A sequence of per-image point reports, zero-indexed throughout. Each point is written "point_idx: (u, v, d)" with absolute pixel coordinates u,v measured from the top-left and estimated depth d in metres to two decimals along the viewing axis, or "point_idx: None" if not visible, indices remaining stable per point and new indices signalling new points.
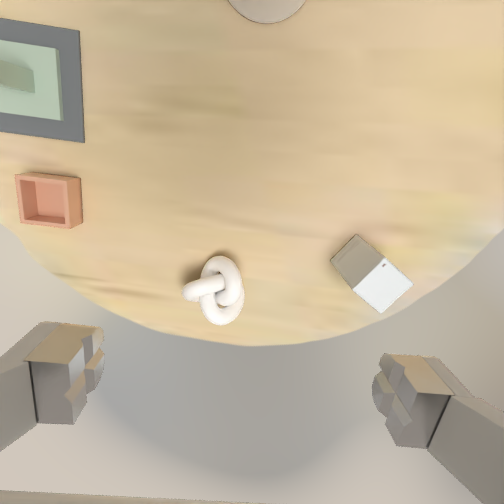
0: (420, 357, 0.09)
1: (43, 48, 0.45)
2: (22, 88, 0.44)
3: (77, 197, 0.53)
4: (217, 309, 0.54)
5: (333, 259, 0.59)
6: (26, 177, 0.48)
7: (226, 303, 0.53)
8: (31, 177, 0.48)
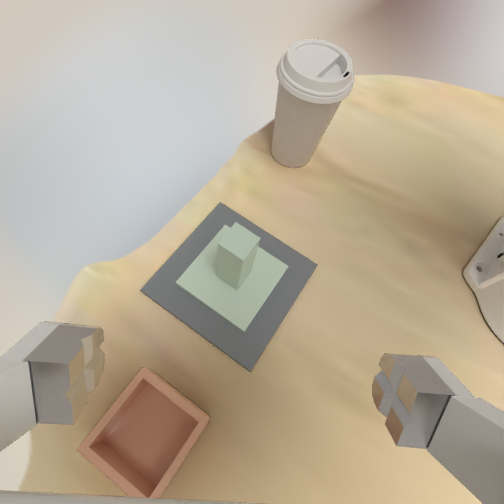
0: (420, 357, 0.09)
1: (276, 260, 0.39)
2: (239, 281, 0.34)
3: None
4: None
5: None
6: (155, 380, 0.29)
7: None
8: (162, 384, 0.29)
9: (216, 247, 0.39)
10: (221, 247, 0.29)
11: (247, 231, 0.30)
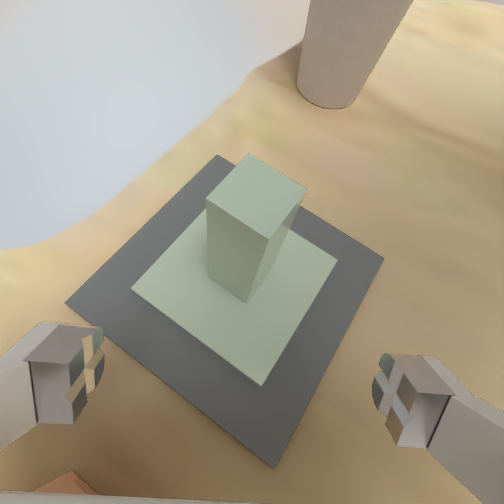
0: (420, 357, 0.09)
1: (315, 249, 0.22)
2: (253, 287, 0.17)
3: None
4: None
5: None
6: None
7: None
8: None
9: None
10: (215, 208, 0.12)
11: (275, 174, 0.13)
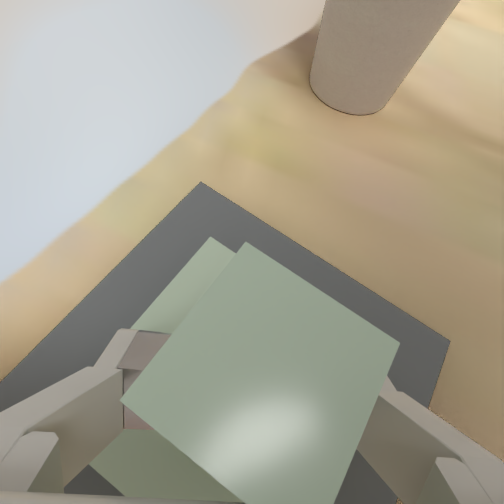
0: None
1: None
2: None
3: None
4: None
5: None
6: None
7: None
8: None
9: (185, 300, 0.14)
10: None
11: (316, 300, 0.05)
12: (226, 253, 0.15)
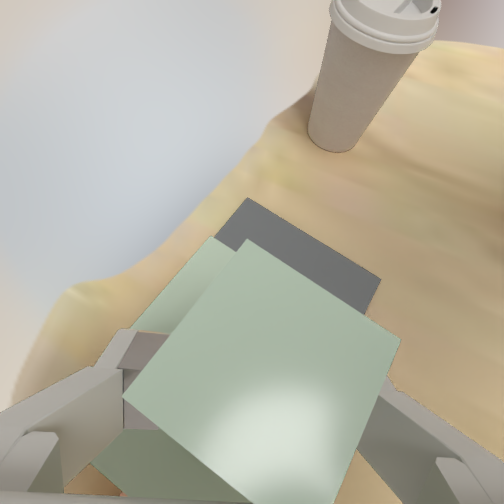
0: None
1: None
2: None
3: None
4: None
5: None
6: None
7: None
8: None
9: (186, 298, 0.14)
10: None
11: (317, 296, 0.05)
12: (226, 252, 0.15)
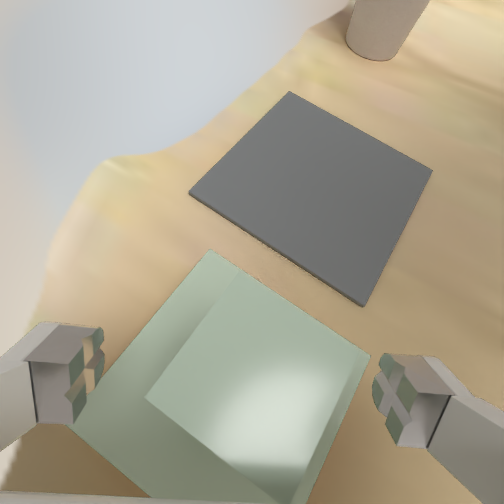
0: (420, 357, 0.09)
1: None
2: None
3: None
4: None
5: None
6: None
7: None
8: None
9: (187, 308, 0.15)
10: None
11: (295, 317, 0.06)
12: (224, 264, 0.16)
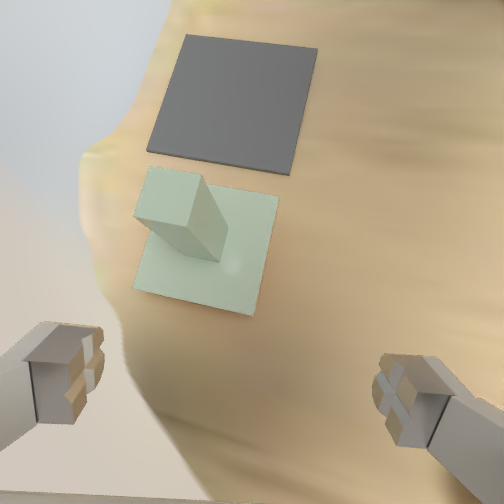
0: (420, 357, 0.09)
1: (258, 195, 0.25)
2: (212, 251, 0.22)
3: None
4: None
5: None
6: None
7: None
8: None
9: None
10: (143, 219, 0.16)
11: (175, 173, 0.16)
12: None
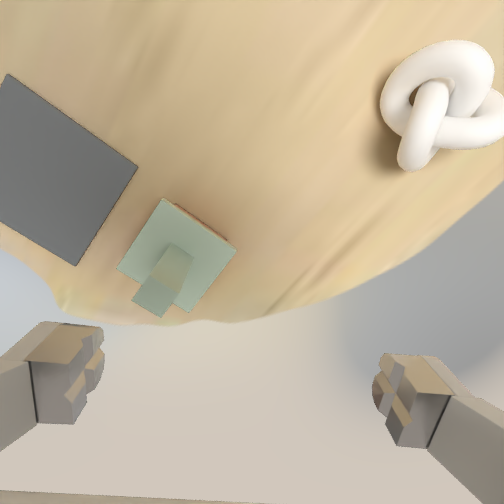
0: (420, 357, 0.09)
1: (155, 213, 0.33)
2: (188, 266, 0.32)
3: None
4: (479, 118, 0.29)
5: None
6: None
7: (482, 94, 0.28)
8: None
9: (145, 277, 0.36)
10: (164, 312, 0.27)
11: (142, 288, 0.26)
12: (123, 262, 0.35)
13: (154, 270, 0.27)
